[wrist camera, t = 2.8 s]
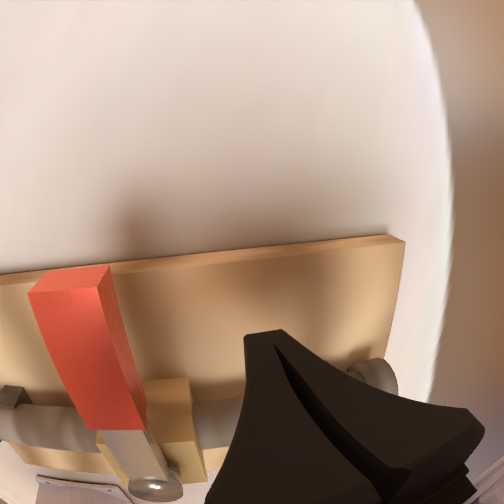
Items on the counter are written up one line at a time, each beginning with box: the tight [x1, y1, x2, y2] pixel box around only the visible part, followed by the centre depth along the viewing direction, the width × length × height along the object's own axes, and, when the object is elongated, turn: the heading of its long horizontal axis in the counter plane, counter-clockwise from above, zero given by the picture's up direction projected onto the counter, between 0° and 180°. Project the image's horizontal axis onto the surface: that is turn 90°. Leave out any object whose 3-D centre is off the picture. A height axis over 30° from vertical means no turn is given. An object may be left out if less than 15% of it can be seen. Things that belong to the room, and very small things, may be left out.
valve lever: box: [27, 265, 183, 502], centre depth 9 cm, size 11×2×1 cm, turn 2°
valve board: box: [0, 234, 405, 485], centre depth 13 cm, size 28×16×6 cm, turn 92°
